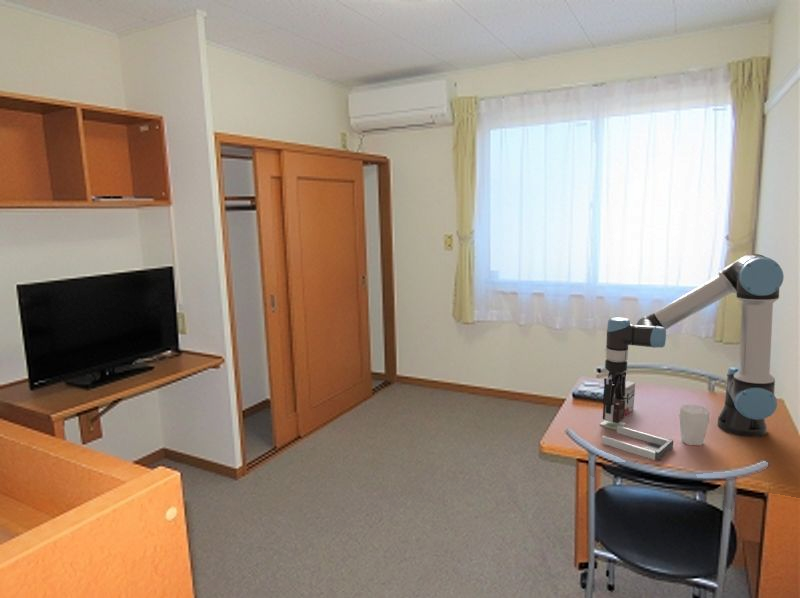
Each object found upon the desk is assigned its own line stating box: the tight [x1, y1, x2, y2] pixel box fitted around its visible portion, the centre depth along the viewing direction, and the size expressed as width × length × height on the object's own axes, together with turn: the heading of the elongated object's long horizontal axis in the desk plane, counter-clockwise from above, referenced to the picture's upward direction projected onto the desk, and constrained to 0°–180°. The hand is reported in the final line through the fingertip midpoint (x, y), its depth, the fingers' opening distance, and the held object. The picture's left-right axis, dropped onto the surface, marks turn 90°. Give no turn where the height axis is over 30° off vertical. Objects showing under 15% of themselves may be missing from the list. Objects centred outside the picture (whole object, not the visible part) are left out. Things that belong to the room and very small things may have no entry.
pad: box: [599, 420, 627, 431], centre depth 201 cm, size 7×7×1 cm
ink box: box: [614, 380, 636, 416], centre depth 213 cm, size 8×5×12 cm, turn 134°
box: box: [602, 398, 625, 423], centre depth 200 cm, size 6×6×7 cm
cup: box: [678, 404, 710, 446], centre depth 184 cm, size 9×9×12 cm
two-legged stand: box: [601, 425, 674, 461], centre depth 183 cm, size 19×13×3 cm
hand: (612, 418), depth 200 cm, fingers closed on box, 6 cm apart
